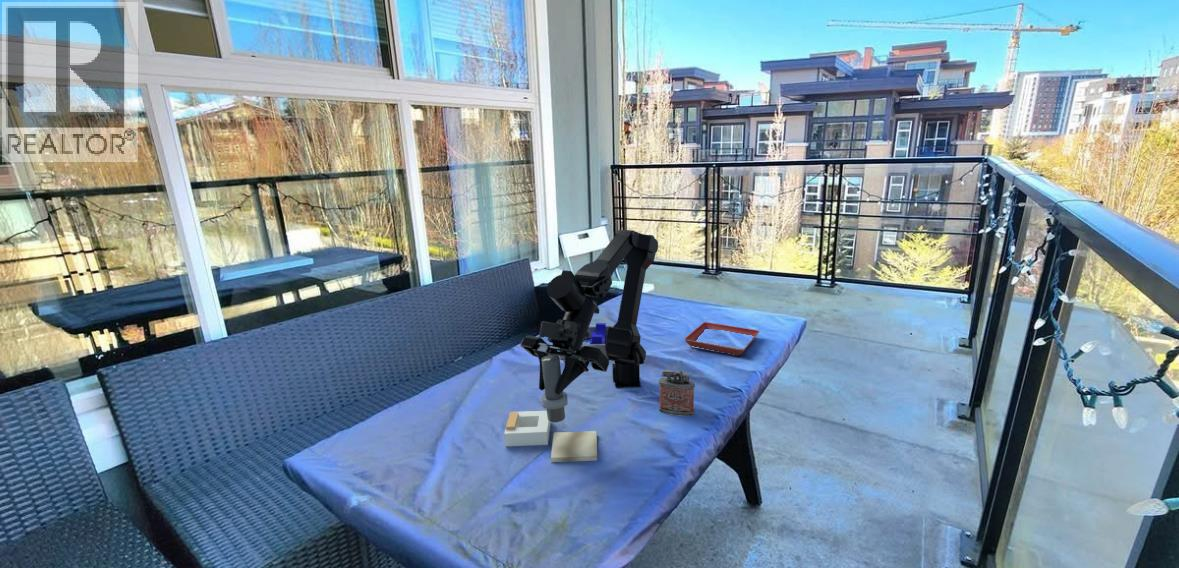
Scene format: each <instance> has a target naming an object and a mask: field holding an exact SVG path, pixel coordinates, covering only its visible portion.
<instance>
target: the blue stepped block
mask: <svg viewBox="0 0 1179 568" xmlns="http://www.w3.org/2000/svg"><path fill="white" fill-rule="evenodd" d="M595 326H596V332H592V333H591V339H589V344H605V342H606V339H607V338H606V326H607V323H606V322H596V323H595Z"/></svg>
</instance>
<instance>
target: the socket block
mask: <svg viewBox="0 0 1179 568" xmlns="http://www.w3.org/2000/svg"><path fill="white" fill-rule="evenodd" d="M551 424H552V422H550V421H548V418H547V410H529V411H528V410H527V411H525V410H524V411H510V413H509V415H508V419H507V422H506V426H505V429H504V434H503V435H504V446H505V447H526V446H528V447H529V446H548V445H549V438H550V433H551Z"/></svg>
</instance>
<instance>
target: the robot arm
mask: <svg viewBox="0 0 1179 568" xmlns="http://www.w3.org/2000/svg"><path fill="white" fill-rule="evenodd" d="M658 249H659V242H658V240H657V238H656V237H655V235H653V234H645V233H644V234H643V233H639V232H638V231H636V230H635V229H619V230H616V231H615V232H614V237H613V238H612V239H611V241H610V242H609V243H608V244H607V246H606V247H604V249H603V250H602V251H601V253H600V254H599V255H598V256H597V258H596V259H595V260H594V261H591V262H589V263H587V264H584V265H583V266H581V267H580V268H579V269H578V270H577V271H576V272H575V274H574V273H573V271H572V270H562V272H561V273H560V274H558V275H556V276H555V277H553V279H551V280H550V281H549V282H548V283H547V287H546V293H547V295H548V297H549V298H551V300H552V301H553V302H554V303H555V305H557V306H558V308H560V309H561V311H563V312H565V313H564V315H563V318H558V320H557V321H556V323H555V322H549V321H545V320H544V321H541V323H540V330H539V333H538V334H539V335H538V336H535V335H531V334H528V335H525V336H524V337H523V338H522V340H521V342H520V345H519V346H520V347H521V348H522V349H523V350H525V351H526V353H529V355H531V356H533V357H535V358H538V361H539V381H538V383H539V384H538V389H539V390H540V391H545V389H544V379H543V369H542V360H541V359H542V358H543V357H545V356H548V355H557V356H559V357H560V356H562V357H565V359H564V368H563V370H562V371H561V377H560V379H559V382H558V384H557V388H556V391H555V393H556V394H557V395H559V394H560V393H561V392H562V391H563V392H564V390H565V389H567V387H568V386H570V385H571V384H572V383H573V381H575V380H576V379H577V378H579V377H580V376H581V375H582V374H584V373H588V372H589V368H588V367H589V364H590V365H591V367H592V369H593V370H595V371H600V372H607V370H608V368H609V365H610V362H609V361H612V362H614V363H612V364H611V367H612V368H611V370H612V372H611V373H612V382H613V383H614V385H615V388H616V389H617V388H618V389H619V388H622V389H623V388H640V387H642V384H641V376H640V373H641V372H640V371H641V370H640V369H641V367H640V365H643V364H645V361H646V358H647V350H646V349H645V348H644V347H643V345H642V344H641V338H642V337H641V334H640V332H639V331H640V330H639V329H638V326H637V324H638V322H637V321H638V317H639V312H640V311H639V310H640V307H641V299H642V295H643V288H644V282H645V277H646V271H647V270H648V268H650V266H651V265H652V264H653V263H654V261H655V259H656V255H657V253H658V251H659V250H658ZM623 261H625V263H626V264H625V265H626V272H625V277H624V284H623V288H622V289H623V290H622V294H621V295H622V296H621V301H620V305H619V309H618V311H619V312H618V317H617V321H616V323H615V324H613V325H614V326H613V327H609V329H608V334H607V338H606V342H605V350H606V354H607V356H606V355H605V354H604V353H603V352H602V351H601V350H600V349H599V348H594V347H589V346H584V347H582V348H581V346H582V345H583V343H584V340H585V339H584V338H588V337H589V333H588V332H587V330H588V328H589V326H590V325H591V322H592V319H593V317H594V314H596V315H598V314H599V313H600V308H599V306H598V303H597V300H593V299H592V298H593V297H594V298H599V299H600V298H605V297H606V296H607V294H608V292H609V291H610V289H611V287H612V285H613V280H612V279H613V278H612V276H613V274H614V273H615V271H616V270H617V268H618V267H619V266H620V264H621V263H622V262H623ZM591 297H592V298H591ZM544 338H547V341H548V342H549V343H552V344H549V343H547V341H545V340H544ZM560 351H561V352H560Z"/></svg>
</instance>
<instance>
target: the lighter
mask: <svg viewBox="0 0 1179 568" xmlns="http://www.w3.org/2000/svg"><path fill="white" fill-rule="evenodd" d="M658 385H659V406H658V412H660V413H662V414H666V415H672V416H679V417H693V416H694V415H695V407H694V406H695V405H694V404H695V398H694V397H695V387H696V384H695V381H693V380H690V373H689V372H682V370H680V369H678V370H676V371H673V370H668V369H667V370H666V369H663V370H662V371H661V378H659V379H658Z"/></svg>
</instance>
